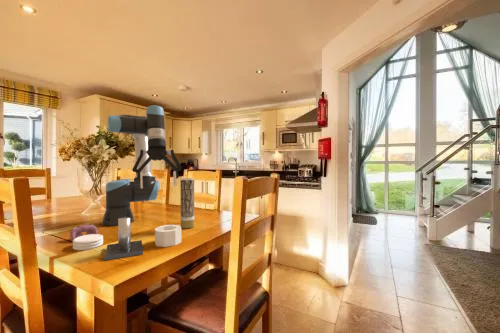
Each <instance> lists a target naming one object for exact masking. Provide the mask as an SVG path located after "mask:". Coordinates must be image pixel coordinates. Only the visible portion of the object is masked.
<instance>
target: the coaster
mask: <svg viewBox="0 0 500 333" xmlns="http://www.w3.org/2000/svg"><path fill="white" fill-rule="evenodd" d="M102 245H104V235H103V234H100V233H98V234H90V235H86V234H85V235H83V236H80V237H77V238H76V237H75V239H74V240H73V242H72V249H73V250H75V251H87V250H93V249H97V248H100V247H102Z"/></svg>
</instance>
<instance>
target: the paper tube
mask: <svg viewBox="0 0 500 333" xmlns="http://www.w3.org/2000/svg"><path fill="white" fill-rule="evenodd" d="M180 227H181V229H192V228H194V227H195V178H193V177H183V178H182V177H181V178H180Z"/></svg>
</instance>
